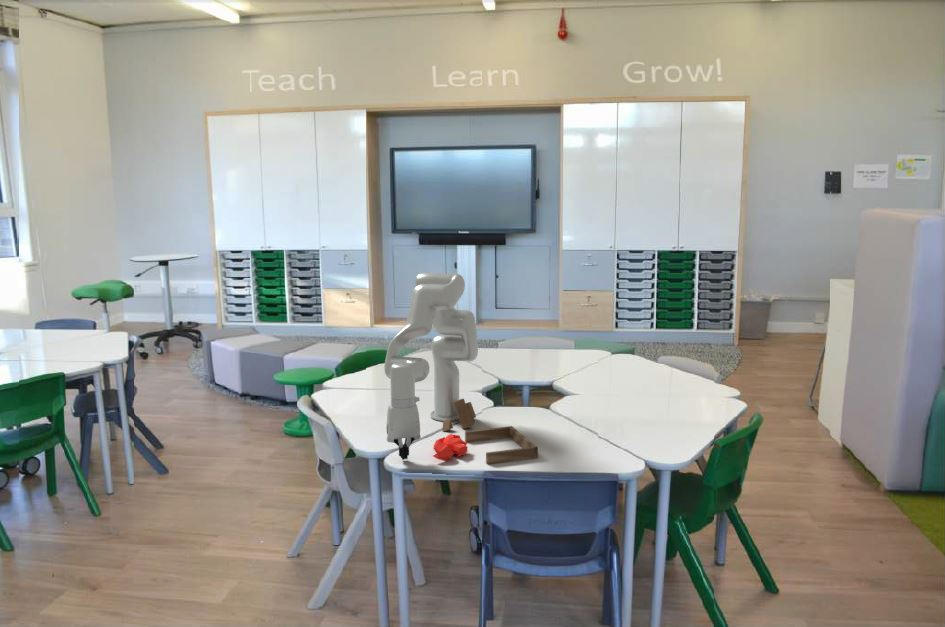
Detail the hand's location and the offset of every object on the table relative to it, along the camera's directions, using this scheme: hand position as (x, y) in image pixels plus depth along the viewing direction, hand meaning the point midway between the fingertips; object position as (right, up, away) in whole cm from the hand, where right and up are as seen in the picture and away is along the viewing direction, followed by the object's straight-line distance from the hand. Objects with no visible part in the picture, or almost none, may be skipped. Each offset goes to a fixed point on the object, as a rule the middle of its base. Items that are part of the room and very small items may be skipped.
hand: (404, 457), depth 221 cm
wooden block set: (+18, +4, +35) cm, 39 cm away
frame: (+30, +1, +10) cm, 32 cm away
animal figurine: (+14, -1, +5) cm, 15 cm away
